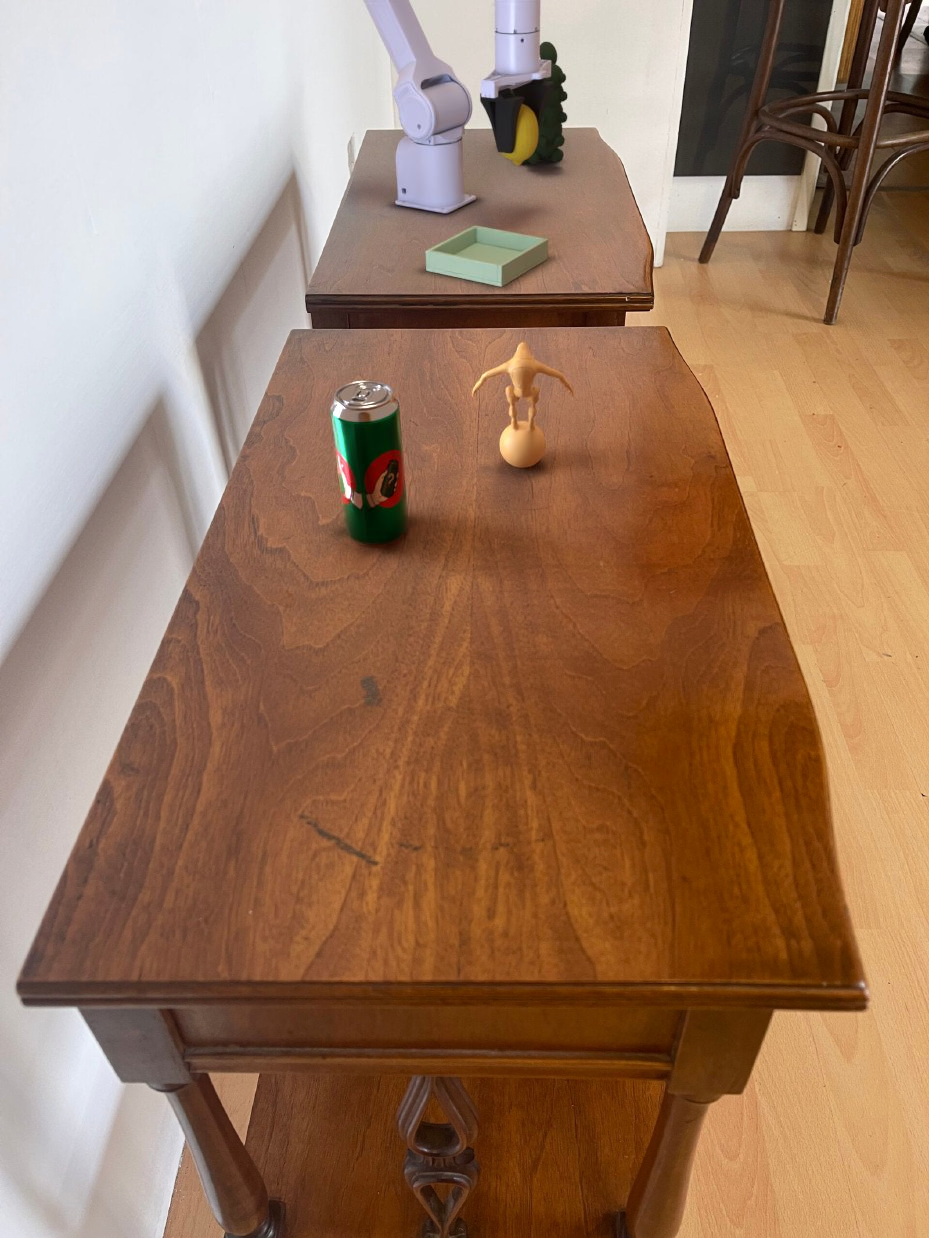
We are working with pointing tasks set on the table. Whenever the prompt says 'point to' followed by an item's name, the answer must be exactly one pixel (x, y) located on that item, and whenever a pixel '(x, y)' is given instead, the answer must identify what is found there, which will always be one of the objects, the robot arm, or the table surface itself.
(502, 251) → the tray
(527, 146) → the lemon
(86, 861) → the table surface
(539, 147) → the dark green bumpy figure
